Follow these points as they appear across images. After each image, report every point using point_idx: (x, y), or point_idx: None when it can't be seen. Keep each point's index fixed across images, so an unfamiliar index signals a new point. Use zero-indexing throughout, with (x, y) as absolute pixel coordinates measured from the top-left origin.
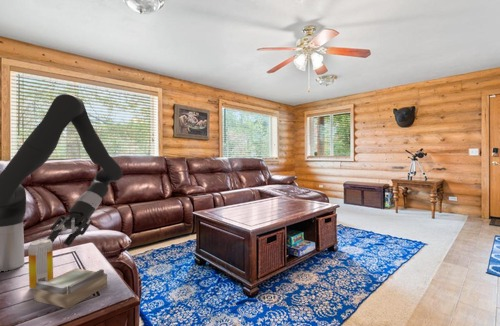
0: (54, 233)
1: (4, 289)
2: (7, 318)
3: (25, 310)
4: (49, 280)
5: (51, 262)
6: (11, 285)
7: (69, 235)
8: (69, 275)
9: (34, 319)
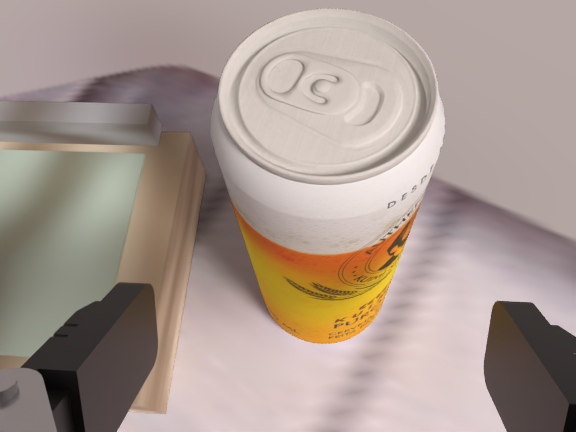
0: (551, 409)
1: (500, 207)
2: (187, 72)
3: (167, 117)
4: (173, 207)
5: (249, 253)
6: (523, 247)
7: (78, 345)
8: (82, 282)
9: (70, 91)
